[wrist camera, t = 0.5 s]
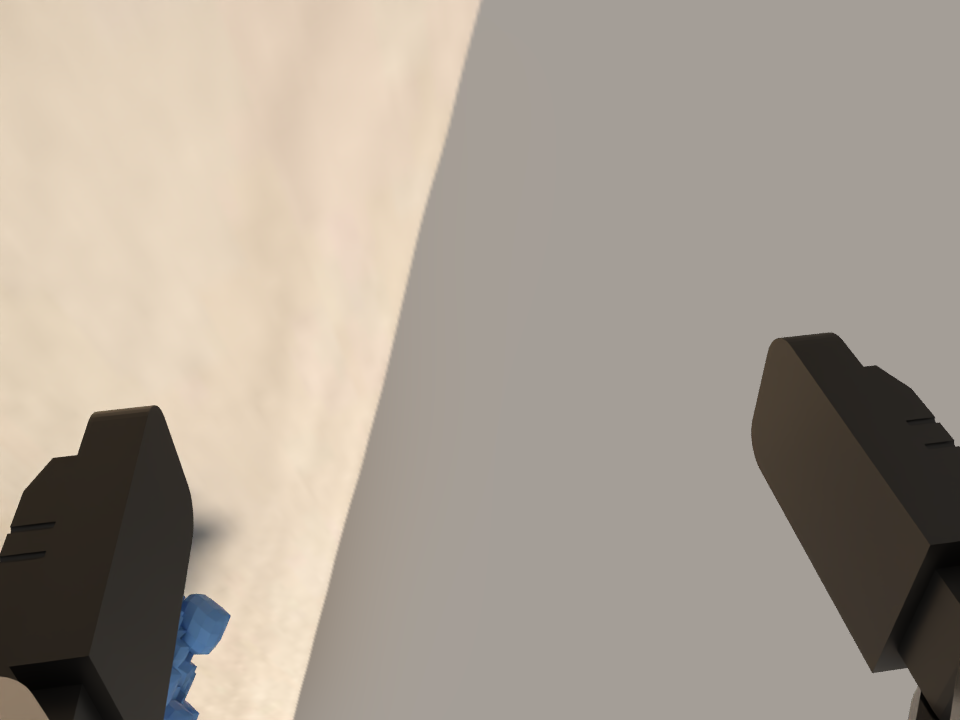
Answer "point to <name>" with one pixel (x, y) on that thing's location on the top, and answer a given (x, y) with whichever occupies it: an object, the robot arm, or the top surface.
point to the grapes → (192, 650)
